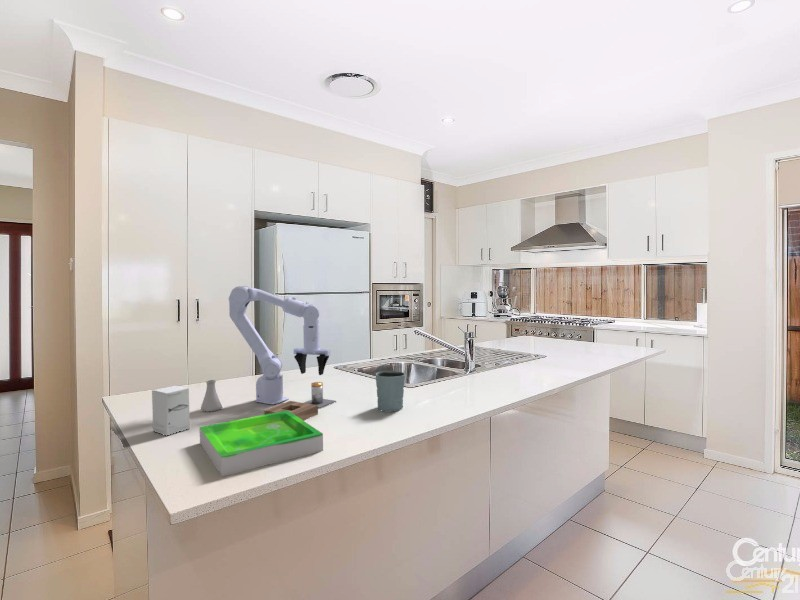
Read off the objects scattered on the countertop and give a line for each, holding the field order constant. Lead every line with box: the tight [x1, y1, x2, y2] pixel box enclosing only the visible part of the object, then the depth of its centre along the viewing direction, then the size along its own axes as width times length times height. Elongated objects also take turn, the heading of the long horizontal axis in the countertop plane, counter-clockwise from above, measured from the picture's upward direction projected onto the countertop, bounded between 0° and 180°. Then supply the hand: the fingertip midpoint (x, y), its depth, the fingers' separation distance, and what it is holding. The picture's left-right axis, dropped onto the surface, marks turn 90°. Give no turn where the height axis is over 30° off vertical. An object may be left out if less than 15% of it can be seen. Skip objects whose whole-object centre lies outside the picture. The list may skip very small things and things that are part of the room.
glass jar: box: [310, 381, 324, 404], centre depth 155 cm, size 4×4×7 cm
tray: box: [198, 411, 324, 477], centre depth 116 cm, size 25×25×5 cm
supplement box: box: [151, 385, 191, 437], centre depth 128 cm, size 7×7×13 cm
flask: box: [200, 379, 224, 413], centre depth 150 cm, size 7×7×10 cm
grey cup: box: [375, 370, 406, 413], centre depth 149 cm, size 10×10×12 cm
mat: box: [303, 398, 337, 409], centre depth 156 cm, size 9×9×1 cm
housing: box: [263, 400, 319, 421], centre depth 141 cm, size 12×12×3 cm
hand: (312, 373), depth 161 cm, fingers open, 7 cm apart
